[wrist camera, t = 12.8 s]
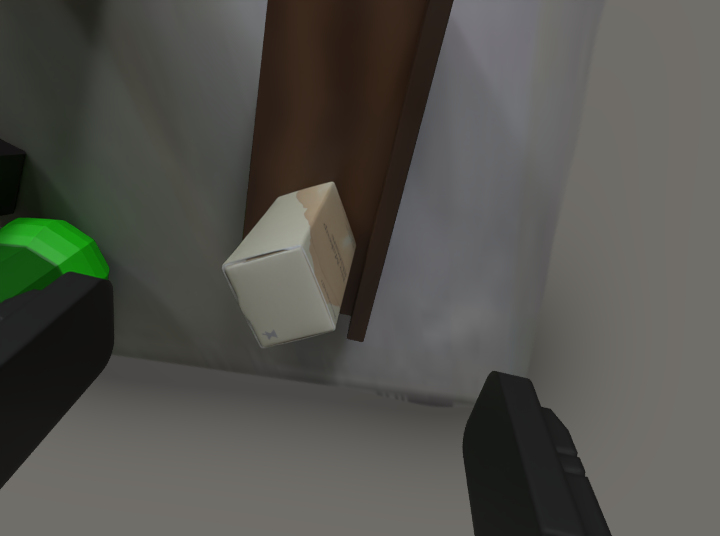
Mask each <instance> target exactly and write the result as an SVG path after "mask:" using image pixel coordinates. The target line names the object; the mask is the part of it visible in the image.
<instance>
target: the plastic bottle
mask: <svg viewBox="0 0 720 536" xmlns="http://www.w3.org/2000/svg"><path fill="white" fill-rule="evenodd" d="M66 272H76V273H80V274H84V275H89V276H93V277H97V278H102V279H106V280H108V276H109V266H108V264H107V262H106V261H105V259H104V257H103V255H102V253H101V251H100V250H99V248H98V246H97V244H96V242H95V241H94V240H93V239H92V238H90V237H89V236H87V235H86V234H84V233H83V232H81V231H80V230H78V229H77V228H75V227H74V226H72V225H71V224H69V223H68V222H66V221H64V220H54V219H41V218H17V219H15V220H13V221H11V222H9V223H7V224H6V225H5V226H4V227H2V228H1V229H0V303H1V302H3V301H4V300H6V299H9V298H12V297H14V296H17V295H20V294H22V293H25V292H28V291H30V290H33V289H37V290H43V289H44V288H45V287H47V286H48V285H49V284H51V283H52V282H53V281H55V280H56V279H58V278H59V277H60V276H62V275H63V274H65V273H66Z"/></svg>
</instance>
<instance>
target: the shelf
mask: <svg viewBox="0 0 720 536" xmlns="http://www.w3.org/2000/svg"><path fill="white" fill-rule="evenodd" d="M453 1H454V0H268V3H267V13H266V22H265V32H264V41H263V50H262V60H261V69H260V79H259V88H258V97H257V107H256V116H255V126H254V135H253V145H252V154H251V163H250V173H249V182H248V192H247V201H246V210H245V220H244V229H243V239H242V241H243V240H244V239H245V237H246V236H247V235H248V234H249V233H250V231H251V230H252V229H253V228H254V226H255V225H256V224H257V223H258V222H259V220H260V219H261V218H262V217H263V216H264V214H265V213H266V212H267V211H268V209H269V208H270V207H271V205H272V204H273V203H274V202H275V200H276V199H277V198H278V197H280V196H283V195H286V194H289V193H293V192H296V191H299V190H303V189H306V188H309V187H313V186H317V185H320V184H324V183H328V182H334V183H335V186H336V188H337V191H338V194H339V196H340V199H341V202H342V205H343V207H344V210H345V213H346V216H347V219H348V222H349V225H350V227H351V230H352V233H353V236H354V239H355V242H356V249H355V253H354V257H353V261H352V264H351V268H350V273H349V277H348V280H347V284H346V288H345V292H344V296H343V300H342V304H341V307H340V312H339V313H341V314H345V315H350V316H351V318H350V323H349V329H348V334H347V339H350V340H355V341H359V342H363V341H364V338H365V334H366V330H367V326H368V322H369V319H370V315H371V311H372V307H373V304H374V300H375V296H376V292H377V288H378V285H379V281H380V277H381V273H382V269H383V266H384V262H385V258H386V254H387V251H388V247H389V243H390V239H391V235H392V232H393V228H394V224H395V220H396V216H397V213H398V209H399V205H400V201H401V198H402V194H403V190H404V186H405V182H406V179H407V175H408V171H409V167H410V163H411V160H412V156H413V152H414V148H415V144H416V141H417V137H418V133H419V129H420V126H421V122H422V118H423V114H424V110H425V107H426V103H427V99H428V95H429V91H430V88H431V84H432V80H433V76H434V73H435V69H436V65H437V61H438V57H439V54H440V50H441V46H442V42H443V38H444V35H445V31H446V27H447V23H448V19H449V16H450V12H451V8H452V4H453Z"/></svg>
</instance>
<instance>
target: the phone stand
mask: <svg viewBox="0 0 720 536" xmlns="http://www.w3.org/2000/svg"><path fill="white" fill-rule="evenodd" d="M24 157H25V152H24V151H23V150H21V149H19V148H17V147H15V146H13V145H11V144H9V143H7V142H5V141H3V140H1V139H0V216H1V215H7V214H13V213H14V208H15V203H16V198H17V193H18V188H19V183H20V178H21V172H22V167H23V162H24Z"/></svg>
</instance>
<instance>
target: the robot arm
mask: <svg viewBox="0 0 720 536" xmlns="http://www.w3.org/2000/svg"><path fill="white" fill-rule="evenodd" d="M113 345H114V307H113V286H112V284H111V282H110V281H109V280H106V279H102V278H97V277H93V276H89V275H84V274H80V273H76V272H66V273H65V274H63V275H62V276H60V277H59V278H58V279H56V280H55V281H53V282H52V283H51V284H49V285H48V286H47V287H45V288H44V289H43V290H37V289H33V290H30V291H28V292H25V293H22V294H20V295H17V296H14V297H12V298H9V299H6V300H4V301H3V302H1V303H0V489H1V488H2V487H3V486H4V484H5V483H6V482H7V481H8V480H9V479H10V477H11V476H12V475H13V474H14V473H15V472H16V470H17V469H18V468H19V467H20V466H21V465H22V464H23V462H24V461H25V460H26V459H27V458H28V456H29V455H30V454H31V453H32V452H33V451H34V450H35V448H36V447H37V446H38V445H39V444H40V442H41V441H42V440H43V439H44V438H45V437H46V436H47V435H48V433H49V432H50V431H51V430H52V429H53V428H54V426H55V425H56V424H57V423H58V422H59V421H60V419H61V418H62V417H63V416H64V415H65V414H66V412H67V411H68V410H69V409H70V408H71V407H72V406H73V404H74V403H75V402H76V401H77V400H78V399H79V397H80V396H81V395H82V394H83V393H84V392H85V390H86V389H87V388H88V387H89V386H90V385H91V384H92V382H93V381H94V380H95V379H96V378H97V377H98V375H99V374H100V373H101V372H102V371H103V369H104V368H105V366H106V365H107V363H108V361H109V359H110V356H111V353H112V350H113ZM463 458H464V465H465V472H466V478H467V486H468V493H469V500H470V507H471V514H472V521H473V527H474V535H475V536H612V535H611V533H610V530H609V528H608V526H607V523H606V521H605V518H604V516H603V513H602V511H601V509H600V506H599V504H598V501H597V499H596V496H595V494H594V492H593V489H592V487H591V484H590V482H589V480H588V477H585V470H584V467H583V465H582V462H581V460H580V458H579V457H577V450H576V448H575V445H574V443H573V441H572V438H571V435H570V433H569V431H568V429H567V428H566V427H565V426H564V424H563V423H562V422H561V421H560V420H559V419H558V417H557V416H556V415H555V414H554V413H553V411H552V410H551V409H548V408H544V407H541V405H540V403H539V400H538V397H537V395H536V392H535V389H534V386H533V384H532V382H531V381H530V379H527V378H523V377H519V376H514V375H510V374H506V373H502V372H497V371H492V372H491V373H490V374H489V375H488V377H487V379H486V381H485V384H484V386H483V388H482V390H481V392H480V395H479V397H478V399H477V401H476V403H475V406H474V408H473V410H472V413H471V415H470V417H469V419H468V421H467V424H466V427H465V432H464V437H463Z"/></svg>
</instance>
